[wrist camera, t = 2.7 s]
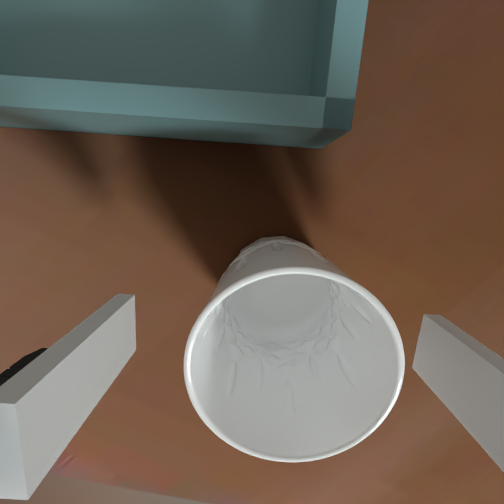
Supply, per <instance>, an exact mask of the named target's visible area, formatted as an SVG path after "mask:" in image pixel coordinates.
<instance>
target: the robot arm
mask: <svg viewBox="0 0 504 504" xmlns="http://www.w3.org/2000/svg"><path fill="white" fill-rule="evenodd" d="M135 350H136V329H135V295H130V294H117V295H115V296H114V297H113V298H112V299H110V300H109V301H108V302H106V303H105V304H104V305H103V306H101V307H100V308H99V309H98V310H96V311H95V312H94V313H93V314H91V315H90V316H89V317H87V318H86V319H85V320H84V321H82V322H81V323H80V324H79V325H77V326H76V327H75V328H74V329H72V330H71V331H70V332H68V333H67V334H66V335H65V336H63V337H62V338H61V339H60V340H58V341H57V342H56V343H55V344H53V345H52V346H51V347H49V348H41V349H39V350H37V351H35V352H33V353H31V354H28V355H26V356H24V357H23V358H21V359H20V360H19V361H17V362H16V363H15V364H13V365H12V366H11V367H10V369H7V370H5V371H4V372H3V373H1V374H0V498H3V499H21V500H28V499H29V498H30V496H31V495H32V493H33V492H34V491H35V489H36V488H37V487H38V485H39V484H40V482H41V481H42V480H43V478H44V477H45V475H46V474H47V473H48V471H49V470H50V469H51V467H52V466H53V464H54V463H55V462H56V460H57V459H58V457H59V456H60V455H61V453H62V452H63V451H64V449H65V448H66V446H67V445H68V444H69V442H70V441H71V439H72V438H73V437H74V435H75V434H76V432H77V431H78V430H79V428H80V427H81V425H82V424H83V423H84V421H85V420H86V419H87V417H88V416H89V414H90V413H91V412H92V410H93V409H94V407H95V406H96V405H97V403H98V402H99V400H100V399H101V398H102V396H103V395H104V394H105V392H106V391H107V389H108V388H109V387H110V385H111V384H112V382H113V381H114V380H115V378H116V377H117V375H118V374H119V373H120V371H121V370H122V369H123V367H124V366H125V364H126V363H127V362H128V360H129V359H130V357H131V356H132V355H133V353H134V352H135ZM412 368H413V369H414V370H415V371H416V373H417V374H418V375H419V376H420V377H421V378H422V379H423V381H424V382H425V383H426V384H427V385H428V386H429V387H430V389H431V390H432V391H433V392H434V393H435V394H436V395H437V397H438V398H439V399H440V400H441V401H442V402H443V403H444V404H445V406H446V407H447V408H448V409H449V410H450V411H451V412H452V414H453V415H454V416H455V417H456V418H457V419H458V420H459V422H460V423H461V424H462V425H463V426H464V427H465V428H466V430H467V431H468V432H469V433H470V434H471V435H472V436H473V438H474V439H475V440H476V441H477V442H478V443H479V444H480V446H481V447H482V448H483V449H484V450H485V451H486V452H487V454H488V455H489V456H490V457H491V458H492V459H493V460H494V462H495V463H496V464H497V465H498V466H499V467H500V468H501V470H502V471H503V472H504V358H502V357H501V356H499V355H498V354H496V353H495V352H493V351H492V350H490V349H489V348H488V347H486V346H485V345H483V344H482V343H480V342H479V341H477V340H476V339H474V338H473V337H472V336H470V335H469V334H467V333H466V332H464V331H463V330H461V329H460V328H458V327H457V326H456V325H454V324H453V323H451V322H450V321H448V320H447V319H445V318H444V317H442V316H441V315H431V314H424V315H423V320H422V325H421V329H420V334H419V338H418V343H417V347H416V352H415V357H414V361H413V366H412Z"/></svg>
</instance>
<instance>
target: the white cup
mask: <svg viewBox="0 0 504 504" xmlns="http://www.w3.org/2000/svg"><path fill="white" fill-rule="evenodd" d="M404 368H405V358H404V349H403V344H402V340H401V337H400V334H399V331H398V329H397V326H396V324H395V322H394V320H393V319H392V317H391V315H390V314H389V312H388V311H387V309H386V308H385V307H384V306H383V305H382V303H381V302H380V301H379V300H378V299H377V298H376V297H375V296H374V295H373V294H372V293H370V292H369V291H368V290H367V289H365V288H364V287H363V286H361V285H360V284H359V283H358V282H356V281H355V280H354V279H352V278H351V277H350V276H349V275H347V274H346V273H345V272H344V271H342V270H341V269H340V268H339V267H337V266H336V265H335V264H334V263H333V262H331V261H330V260H329V259H327V258H326V257H324V256H323V255H321V254H320V253H319V252H317V251H316V250H314V249H312V248H310V247H309V246H307V245H306V244H305V243H302V242H300V241H297V240H294V239H292V238H289V237H286V236H275V237H264V238H260V239H258V240H256V241H255V242H253V243H251V244H250V245H248V246H246V247H245V248H243V249H242V250H241V251H240V253H239V254H238V256H237V257H236V259H235V260H234V261H233V262H232V263H231V264H230V265H229V267H228V268H227V270H226V271H225V272H224V274H223V275H222V277H221V279H220V280H219V282H218V284H217V286H216V287H215V289H214V291H213V293H212V294H211V296H210V298H209V299H208V301H207V303H206V305H205V306H204V308H203V310H202V311H201V313H200V315H199V317H198V318H197V320H196V322H195V323H194V325H193V327H192V330H191V332H190V334H189V337H188V340H187V344H186V348H185V354H184V378H185V384H186V388H187V392H188V395H189V397H190V400H191V402H192V404H193V406H194V408H195V410H196V412H197V413H198V415H199V416H200V418H201V419H202V420H203V422H204V423H205V424H206V425H207V426H208V427H209V428H210V429H211V430H212V431H213V432H214V433H215V434H216V435H217V436H218V437H219V438H221V439H222V440H223V441H225V442H226V443H228V444H229V445H231V446H233V447H234V448H236V449H238V450H240V451H242V452H244V453H247V454H249V455H252V456H255V457H258V458H262V459H266V460H272V461H279V462H306V461H313V460H318V459H323V458H327V457H330V456H333V455H336V454H338V453H341V452H343V451H345V450H347V449H349V448H351V447H353V446H355V445H356V444H358V443H359V442H361V441H362V440H364V439H365V438H366V437H368V436H369V435H370V434H371V433H372V432H373V431H374V430H375V429H376V428H377V427H378V426H379V425H380V424H381V423H382V422H383V421H384V419H385V418H386V417H387V415H388V414H389V413H390V411H391V409H392V408H393V406H394V404H395V402H396V400H397V398H398V395H399V392H400V389H401V386H402V382H403V377H404Z"/></svg>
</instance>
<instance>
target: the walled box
mask: <svg viewBox="0 0 504 504" xmlns="http://www.w3.org/2000/svg"><path fill="white" fill-rule="evenodd" d="M367 7H368V0H0V127H14V128H28V129H42V130H57V131H71V132H85V133H100V134H114V135H128V136H143V137H157V138H172V139H186V140H200V141H215V142H229V143H243V144H258V145H272V146H286V147H301V148H315V149H321V148H323V147H325V146H326V145H328V144H329V143H331V142H333V141H334V140H336V139H337V138H339V137H341V136H342V135H344V134H345V133H347V132H349V131H350V130H351V125H352V118H353V110H354V103H355V96H356V88H357V81H358V74H359V66H360V59H361V51H362V44H363V37H364V29H365V22H366V15H367Z"/></svg>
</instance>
